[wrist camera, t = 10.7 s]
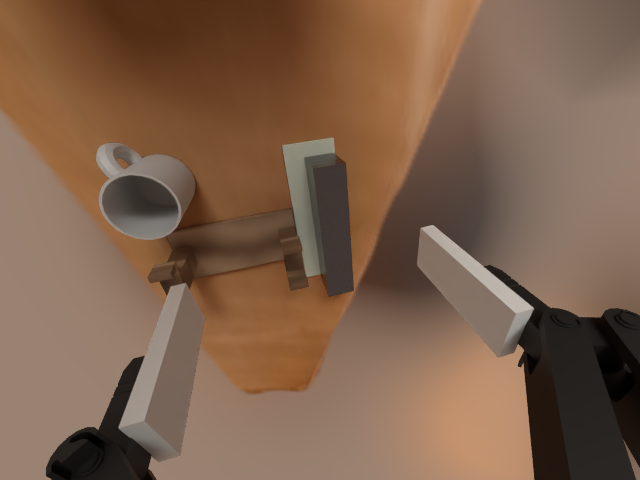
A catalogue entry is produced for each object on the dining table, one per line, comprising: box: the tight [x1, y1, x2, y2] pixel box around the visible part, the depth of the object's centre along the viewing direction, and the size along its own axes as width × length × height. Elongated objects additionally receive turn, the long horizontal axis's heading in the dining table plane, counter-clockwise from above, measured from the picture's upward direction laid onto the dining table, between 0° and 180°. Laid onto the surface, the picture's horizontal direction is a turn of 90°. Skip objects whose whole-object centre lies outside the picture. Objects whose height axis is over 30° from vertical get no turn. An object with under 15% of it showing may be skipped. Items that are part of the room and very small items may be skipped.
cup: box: [96, 143, 196, 240], centre depth 30 cm, size 7×10×9 cm
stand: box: [148, 208, 309, 295], centre depth 37 cm, size 8×18×10 cm, turn 97°
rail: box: [304, 153, 354, 297], centre depth 39 cm, size 4×20×6 cm, turn 8°
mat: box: [282, 137, 335, 277], centre depth 41 cm, size 22×7×1 cm, turn 7°
